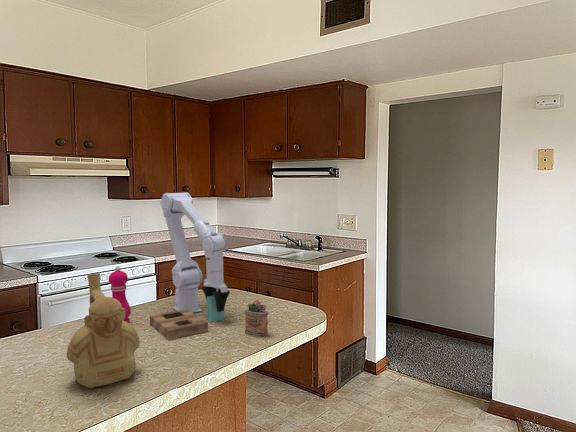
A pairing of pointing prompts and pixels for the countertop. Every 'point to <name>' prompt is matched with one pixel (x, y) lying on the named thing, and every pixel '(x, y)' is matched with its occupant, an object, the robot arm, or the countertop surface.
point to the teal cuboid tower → (213, 310)
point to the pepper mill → (120, 289)
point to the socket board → (178, 324)
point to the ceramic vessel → (103, 341)
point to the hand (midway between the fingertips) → (215, 308)
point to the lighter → (256, 320)
